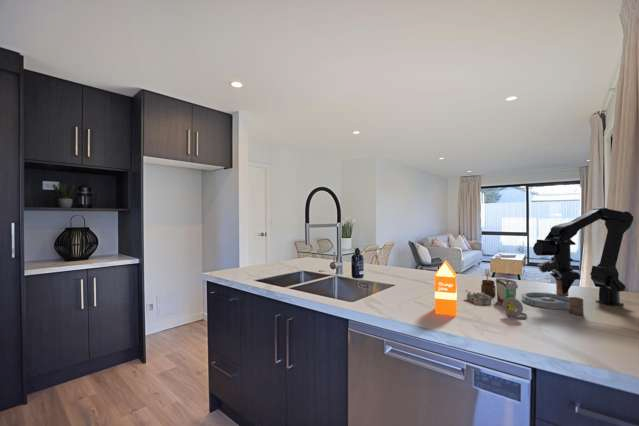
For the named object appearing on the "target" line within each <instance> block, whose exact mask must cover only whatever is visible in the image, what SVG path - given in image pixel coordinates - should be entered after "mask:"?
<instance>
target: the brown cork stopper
mask: <svg viewBox="0 0 639 426" xmlns="http://www.w3.org/2000/svg"><path fill="white" fill-rule="evenodd" d="M555 284H556V285H555V286H556V287H555V288H556V291H555V292H556V293H555V294H557V295H558V296H567V297H570V296H569V291H568V292H567V293H566V294H564V293H563V291H562V286H561V281H560V280H555Z"/></svg>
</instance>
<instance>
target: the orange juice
mask: <svg viewBox="0 0 639 426" xmlns="http://www.w3.org/2000/svg"><path fill="white" fill-rule="evenodd" d="M457 293H458V292H457V273H456V271H454V269H453V267H452V266H451V265H450V263H449V262H448V261H447V259H445V261H443V263H442V264H441V266H440V267H439V268H438V269H437V271H436V272H435V274H434V313H435V314H436V315H445V316H452V317H457V312H458V309H457V308H458V307H457V305H458V304H457Z"/></svg>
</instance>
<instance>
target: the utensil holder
mask: <svg viewBox="0 0 639 426" xmlns="http://www.w3.org/2000/svg"><path fill="white" fill-rule="evenodd" d="M484 270H485V271H484V275H485V279H482V280H481V286H480V287H481V288H480V290H481V291H480V293H484V294H486V295H489V296H490V297H491V298H494V297H496V296H497V288H496V282H495V280H491V279H492V278H489V277H492V275H491V274H490V269H489V268H487V269H486V268H485V269H484Z"/></svg>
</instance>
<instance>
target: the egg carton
mask: <svg viewBox="0 0 639 426" xmlns="http://www.w3.org/2000/svg"><path fill="white" fill-rule="evenodd" d="M465 292H467V295H466V300H467V301H470V302H471V303H474V305H480V306H482V305H486V306H487V305H488V306H489V305H491V304H492V297H490V296H489V295H486V294H484V293H481V292H476V293H475V292H473V293H472V294H471V292H470V291H468V290H465Z"/></svg>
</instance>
